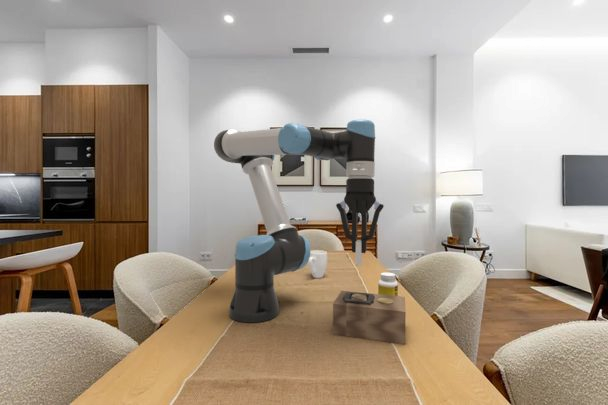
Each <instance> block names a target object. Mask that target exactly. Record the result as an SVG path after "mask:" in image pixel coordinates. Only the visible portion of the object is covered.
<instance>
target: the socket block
mask: <svg viewBox="0 0 608 405" xmlns="http://www.w3.org/2000/svg"><path fill="white" fill-rule="evenodd" d="M353 294H363V295H366V297H367V300H366V301H365V300H356V299H352V295H353ZM406 312H407V311H406V297H405V296H402V295H401V296H399V295H398V296H391V295H380V294H378V293H367V292H357V291H356V292H355V291H349V290H341V291H340V292H339V294H338V295H337V297H336V298H335V300H334V302H332V335H335V336H336V335H337V336H341V337H342V336H343V337H349V338H358V339H365V340H370V341H378V342H386V343H394V344H398V345H399V344H400V345H406V318H407V316H406V314H407V313H406Z"/></svg>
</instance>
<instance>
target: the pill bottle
mask: <svg viewBox="0 0 608 405" xmlns="http://www.w3.org/2000/svg"><path fill="white" fill-rule="evenodd" d="M395 279H397V278H396V274H395V273H394V272H381V273H380V279H379V281H377V282H378V283H377V284H378V285H377V290H378V291H377V294H380V295H391V296H399V295H398V294H399V284H398V282H397V281H396V280H395Z"/></svg>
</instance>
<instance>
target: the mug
mask: <svg viewBox="0 0 608 405" xmlns="http://www.w3.org/2000/svg"><path fill="white" fill-rule="evenodd" d="M307 264H308V268H309V270H310V272H311V275H312V277H313V278H315V279H321V278H323V277H324V275H325V272H326V270H327V269H326V268H327V266H328V252H327V251H326V250H321V249H315V250H314V249H313V250H311V253H310V258H309V261H308V263H307Z"/></svg>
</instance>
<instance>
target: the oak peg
mask: <svg viewBox="0 0 608 405" xmlns="http://www.w3.org/2000/svg"><path fill="white" fill-rule="evenodd" d="M352 299H356V300H365V301H366V300H367V297H366V295H363V294H353V295H352Z"/></svg>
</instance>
